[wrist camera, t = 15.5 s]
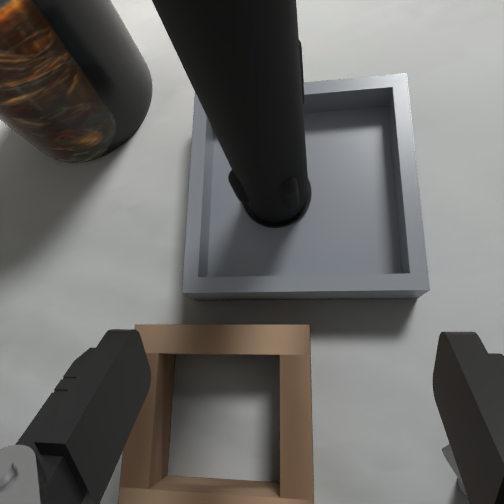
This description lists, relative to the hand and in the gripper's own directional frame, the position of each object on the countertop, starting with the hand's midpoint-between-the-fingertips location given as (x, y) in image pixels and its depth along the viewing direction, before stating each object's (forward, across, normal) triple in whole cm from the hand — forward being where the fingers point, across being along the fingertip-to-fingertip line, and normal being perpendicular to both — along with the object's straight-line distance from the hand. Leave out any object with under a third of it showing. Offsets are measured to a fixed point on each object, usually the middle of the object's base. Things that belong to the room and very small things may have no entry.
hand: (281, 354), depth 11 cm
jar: (+27, +18, -4) cm, 33 cm away
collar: (+9, +5, +14) cm, 17 cm away
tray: (+20, 0, +3) cm, 20 cm away
